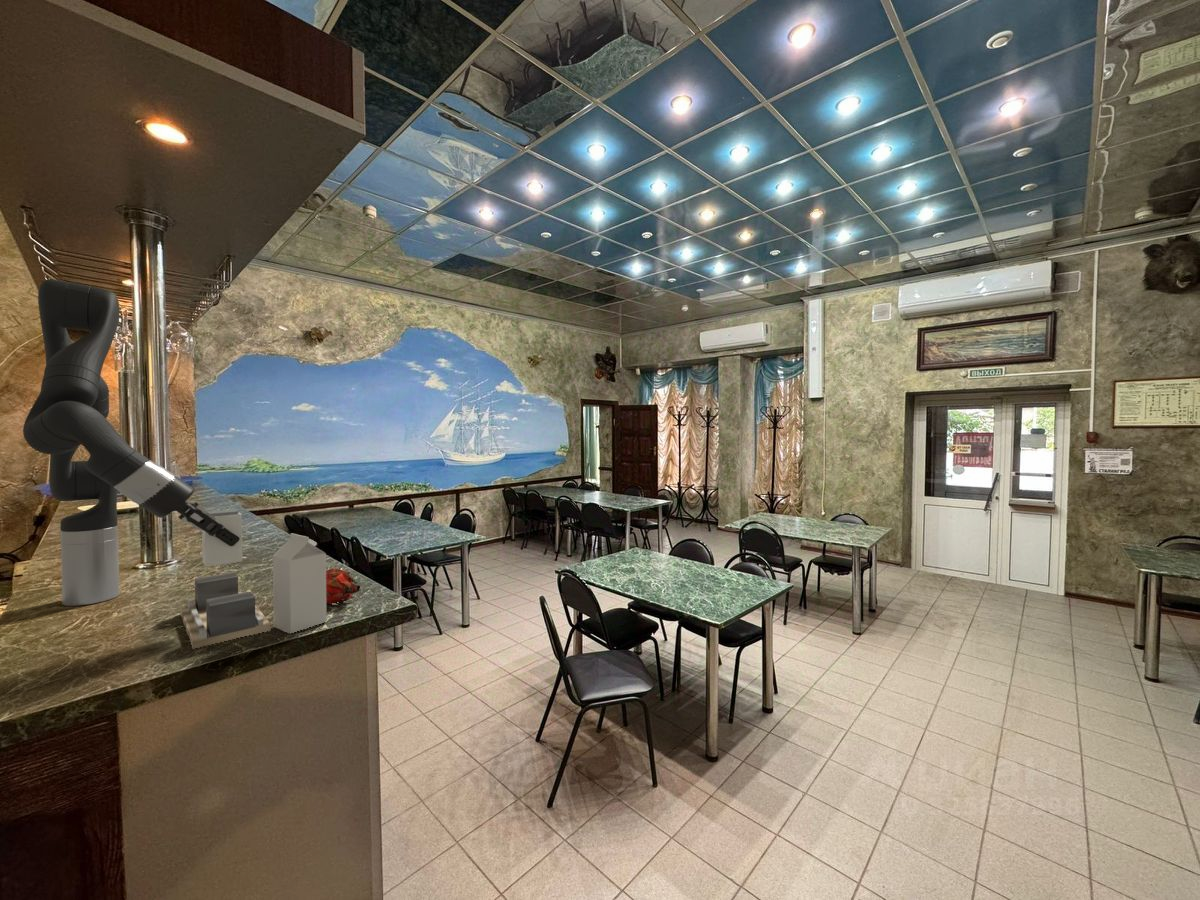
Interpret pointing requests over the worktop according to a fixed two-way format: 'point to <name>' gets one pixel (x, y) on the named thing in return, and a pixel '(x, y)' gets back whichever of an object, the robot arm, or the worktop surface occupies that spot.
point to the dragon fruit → (339, 585)
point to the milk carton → (299, 585)
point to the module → (217, 549)
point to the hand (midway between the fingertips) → (233, 540)
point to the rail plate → (221, 612)
